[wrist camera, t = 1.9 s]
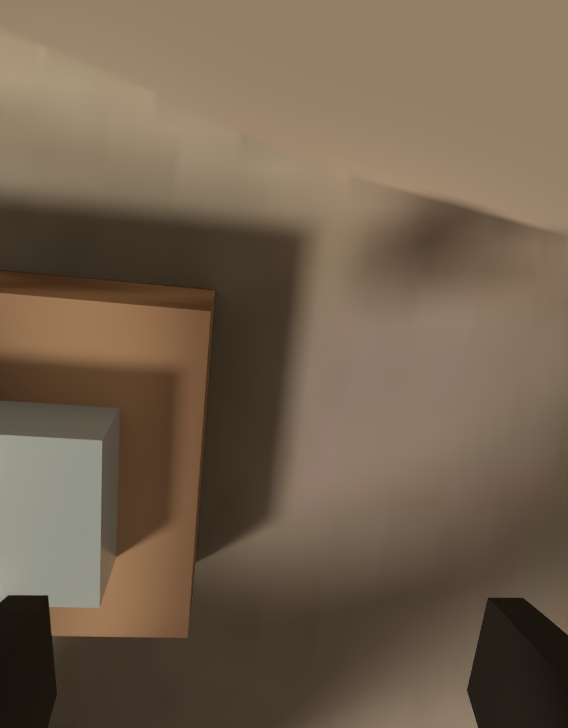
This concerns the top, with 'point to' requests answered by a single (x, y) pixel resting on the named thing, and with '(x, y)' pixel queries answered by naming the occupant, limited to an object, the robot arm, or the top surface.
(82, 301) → the walnut plate
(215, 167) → the top surface
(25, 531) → the tile slate
